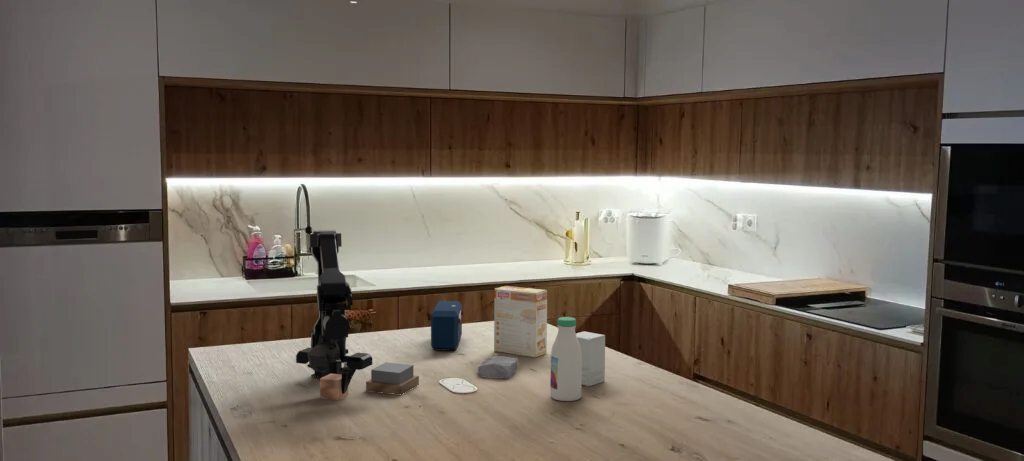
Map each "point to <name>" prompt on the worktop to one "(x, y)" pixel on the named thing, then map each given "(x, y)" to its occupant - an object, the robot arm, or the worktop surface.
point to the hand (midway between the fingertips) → (334, 392)
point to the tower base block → (392, 386)
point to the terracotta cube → (332, 387)
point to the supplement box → (592, 357)
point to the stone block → (498, 367)
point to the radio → (446, 325)
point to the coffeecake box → (520, 321)
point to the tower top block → (392, 373)
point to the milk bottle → (566, 362)
